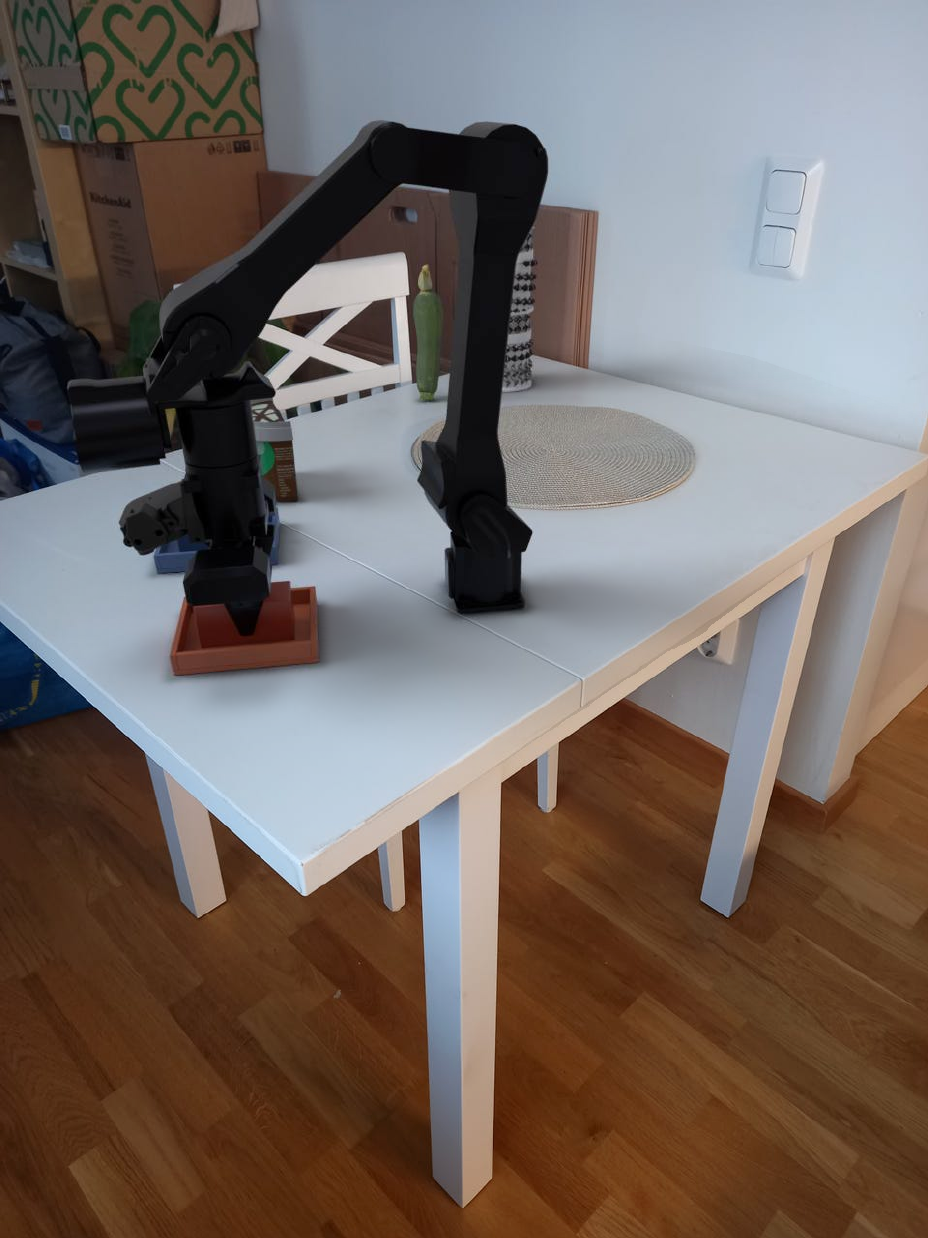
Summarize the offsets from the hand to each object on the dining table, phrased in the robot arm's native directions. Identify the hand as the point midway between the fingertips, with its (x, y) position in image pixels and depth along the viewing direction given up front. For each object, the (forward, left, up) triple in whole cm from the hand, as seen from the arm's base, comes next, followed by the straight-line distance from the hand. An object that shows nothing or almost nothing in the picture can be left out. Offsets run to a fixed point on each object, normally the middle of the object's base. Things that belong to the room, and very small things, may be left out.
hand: (248, 623), depth 79 cm
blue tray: (+4, -19, -2) cm, 19 cm away
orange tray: (0, 0, -2) cm, 2 cm away
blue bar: (+4, -19, -1) cm, 19 cm away
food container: (0, -34, -2) cm, 34 cm away
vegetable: (-24, -66, -2) cm, 70 cm away
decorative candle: (-37, -72, -2) cm, 81 cm away
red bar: (0, 0, -1) cm, 1 cm away
